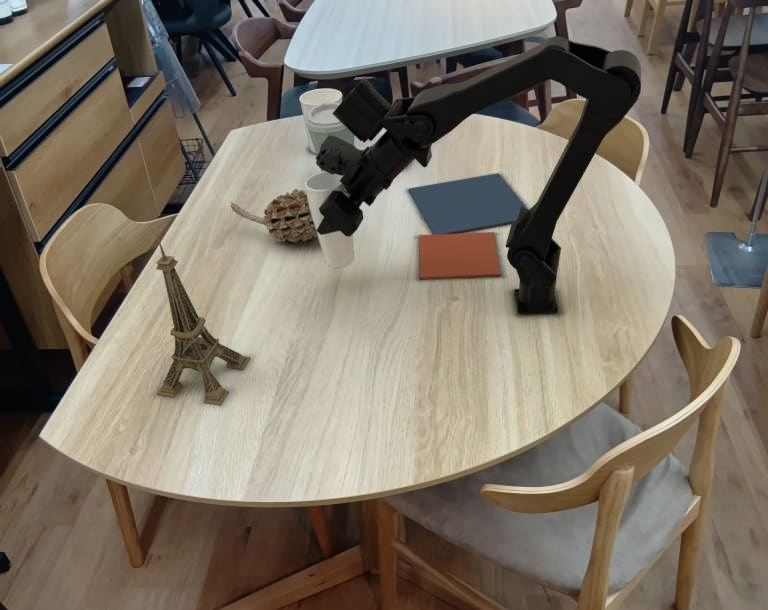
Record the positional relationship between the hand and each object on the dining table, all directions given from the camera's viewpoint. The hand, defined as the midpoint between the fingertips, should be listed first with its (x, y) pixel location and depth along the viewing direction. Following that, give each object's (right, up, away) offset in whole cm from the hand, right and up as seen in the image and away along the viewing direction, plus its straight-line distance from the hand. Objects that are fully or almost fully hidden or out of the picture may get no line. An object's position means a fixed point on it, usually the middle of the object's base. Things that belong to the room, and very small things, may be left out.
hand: (325, 221), depth 110 cm
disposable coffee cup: (-1, +18, +37) cm, 42 cm away
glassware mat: (+27, +10, +25) cm, 38 cm away
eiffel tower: (-18, -26, -8) cm, 32 cm away
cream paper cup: (-4, +30, +50) cm, 58 cm away
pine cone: (-10, +2, +20) cm, 23 cm away
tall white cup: (+2, -6, +5) cm, 8 cm away
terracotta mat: (+23, -3, +11) cm, 26 cm away
